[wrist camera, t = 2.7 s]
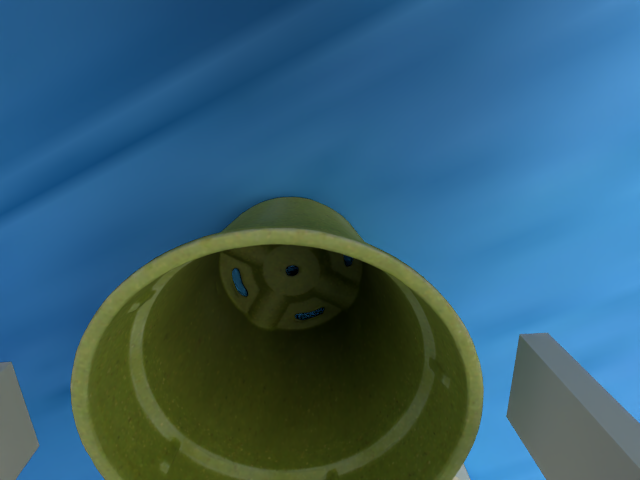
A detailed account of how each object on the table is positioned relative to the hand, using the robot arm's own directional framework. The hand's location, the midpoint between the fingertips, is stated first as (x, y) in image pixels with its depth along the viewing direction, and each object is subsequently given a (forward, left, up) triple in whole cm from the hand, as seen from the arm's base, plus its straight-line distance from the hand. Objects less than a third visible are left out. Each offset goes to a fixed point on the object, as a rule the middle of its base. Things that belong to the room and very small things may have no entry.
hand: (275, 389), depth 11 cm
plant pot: (0, 0, -7) cm, 7 cm away
